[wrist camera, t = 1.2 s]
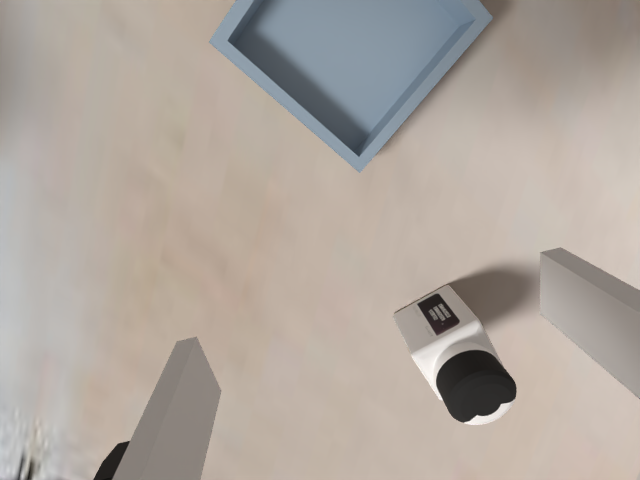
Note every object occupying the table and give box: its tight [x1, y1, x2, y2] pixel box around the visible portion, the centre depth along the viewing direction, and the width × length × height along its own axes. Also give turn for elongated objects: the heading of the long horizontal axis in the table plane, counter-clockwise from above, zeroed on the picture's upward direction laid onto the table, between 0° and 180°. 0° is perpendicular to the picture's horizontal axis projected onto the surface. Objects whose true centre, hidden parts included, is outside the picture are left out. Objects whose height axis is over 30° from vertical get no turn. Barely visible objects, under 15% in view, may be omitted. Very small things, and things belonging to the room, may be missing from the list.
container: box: [393, 285, 516, 425], centre depth 38 cm, size 8×8×13 cm
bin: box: [209, 0, 493, 173], centre depth 29 cm, size 16×16×4 cm
